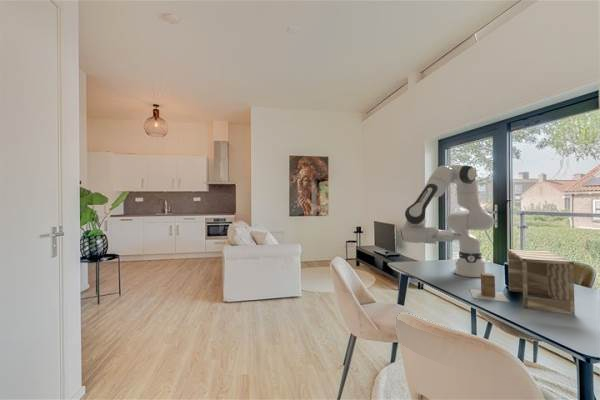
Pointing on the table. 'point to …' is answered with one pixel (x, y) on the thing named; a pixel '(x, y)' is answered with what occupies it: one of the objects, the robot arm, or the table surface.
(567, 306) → the cubby
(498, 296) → the mat
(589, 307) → the table surface
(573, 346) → the table surface
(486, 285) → the block
